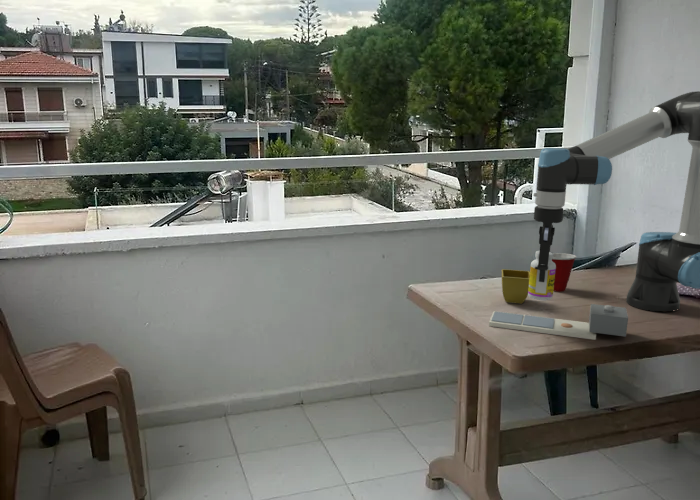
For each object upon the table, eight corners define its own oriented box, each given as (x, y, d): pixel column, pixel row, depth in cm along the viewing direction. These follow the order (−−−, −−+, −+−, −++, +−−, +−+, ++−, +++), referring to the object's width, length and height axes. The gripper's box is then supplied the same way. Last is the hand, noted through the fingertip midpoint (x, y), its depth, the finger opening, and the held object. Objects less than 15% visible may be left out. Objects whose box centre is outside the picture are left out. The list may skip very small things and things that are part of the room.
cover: (623, 325, 177) (626, 303, 175) (625, 336, 168) (628, 313, 167) (588, 321, 180) (591, 299, 178) (589, 331, 171) (591, 309, 170)
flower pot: (529, 306, 197) (531, 278, 195) (500, 304, 199) (502, 276, 197) (527, 298, 205) (529, 270, 203) (499, 296, 207) (501, 269, 205)
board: (594, 327, 180) (595, 322, 180) (595, 339, 171) (596, 334, 170) (493, 314, 189) (493, 310, 188) (488, 325, 179) (489, 320, 179)
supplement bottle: (548, 302, 174) (553, 256, 171) (524, 298, 177) (528, 252, 174) (555, 296, 179) (560, 251, 176) (531, 292, 182) (535, 248, 179)
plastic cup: (559, 283, 222) (563, 249, 220) (579, 292, 212) (583, 257, 210) (532, 285, 219) (535, 251, 216) (551, 295, 209) (555, 259, 206)
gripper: (536, 200, 182) (529, 278, 188) (532, 211, 164) (524, 297, 170) (564, 202, 180) (556, 281, 185) (563, 213, 162) (554, 300, 167)
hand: (541, 288), depth 177 cm, fingers closed on supplement bottle, 7 cm apart
